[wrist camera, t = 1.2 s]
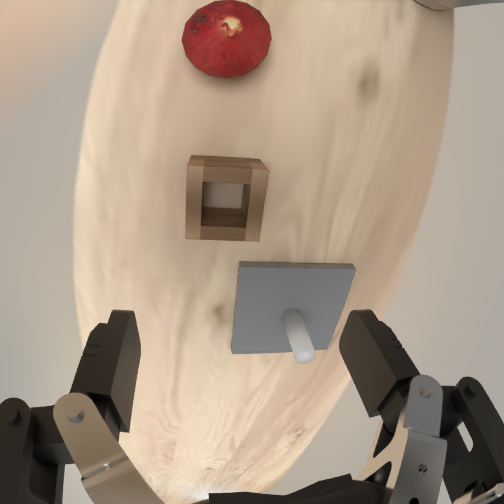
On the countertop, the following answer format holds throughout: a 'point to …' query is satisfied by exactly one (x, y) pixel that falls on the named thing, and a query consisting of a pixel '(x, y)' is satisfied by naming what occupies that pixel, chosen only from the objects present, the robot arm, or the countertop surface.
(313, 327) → the post stand
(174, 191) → the countertop surface
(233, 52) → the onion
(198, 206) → the ring
